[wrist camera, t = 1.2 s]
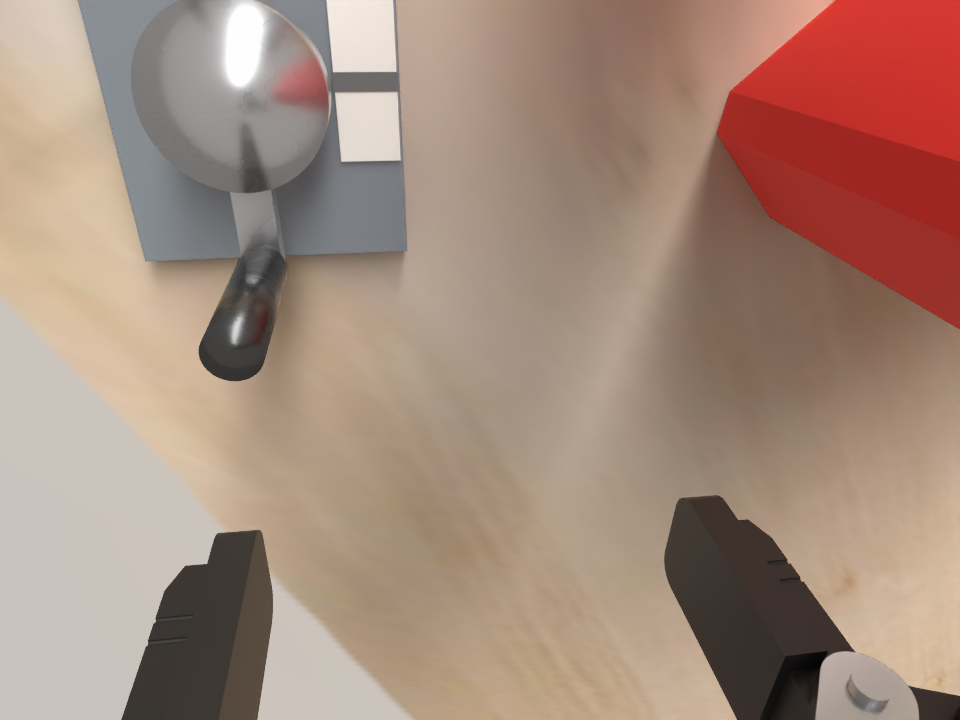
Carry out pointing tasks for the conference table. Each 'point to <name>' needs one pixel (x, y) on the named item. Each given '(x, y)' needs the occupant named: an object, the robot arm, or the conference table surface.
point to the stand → (319, 187)
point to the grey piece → (235, 142)
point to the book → (863, 141)
